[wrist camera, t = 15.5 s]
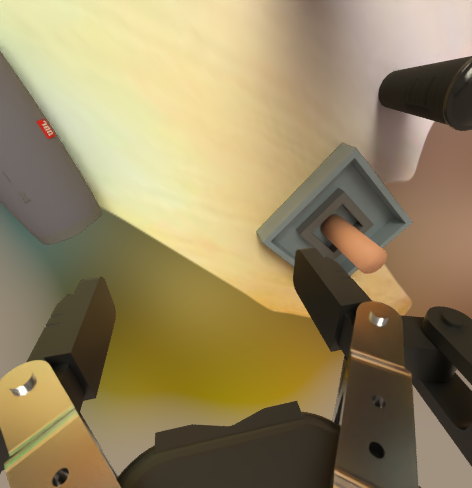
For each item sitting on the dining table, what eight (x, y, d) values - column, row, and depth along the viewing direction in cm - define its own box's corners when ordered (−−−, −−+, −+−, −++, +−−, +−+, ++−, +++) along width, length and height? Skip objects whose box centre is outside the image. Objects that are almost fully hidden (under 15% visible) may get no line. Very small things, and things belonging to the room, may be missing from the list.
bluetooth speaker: (113, 199, 41) (97, 230, 33) (55, 220, 41) (24, 257, 33) (-3, 10, 29) (-76, -19, 20) (-85, 41, 29) (-193, 24, 20)
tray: (342, 142, 43) (356, 147, 40) (397, 213, 53) (412, 222, 49) (256, 231, 49) (262, 242, 45) (320, 281, 58) (329, 293, 55)
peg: (333, 209, 48) (377, 242, 38) (347, 222, 50) (391, 257, 40) (315, 227, 49) (353, 264, 39) (329, 239, 51) (368, 277, 41)
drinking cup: (406, 117, 43) (555, 141, 26) (363, 117, 42) (491, 141, 25) (425, 60, 39) (613, 44, 22) (378, 57, 38) (541, 37, 21)
